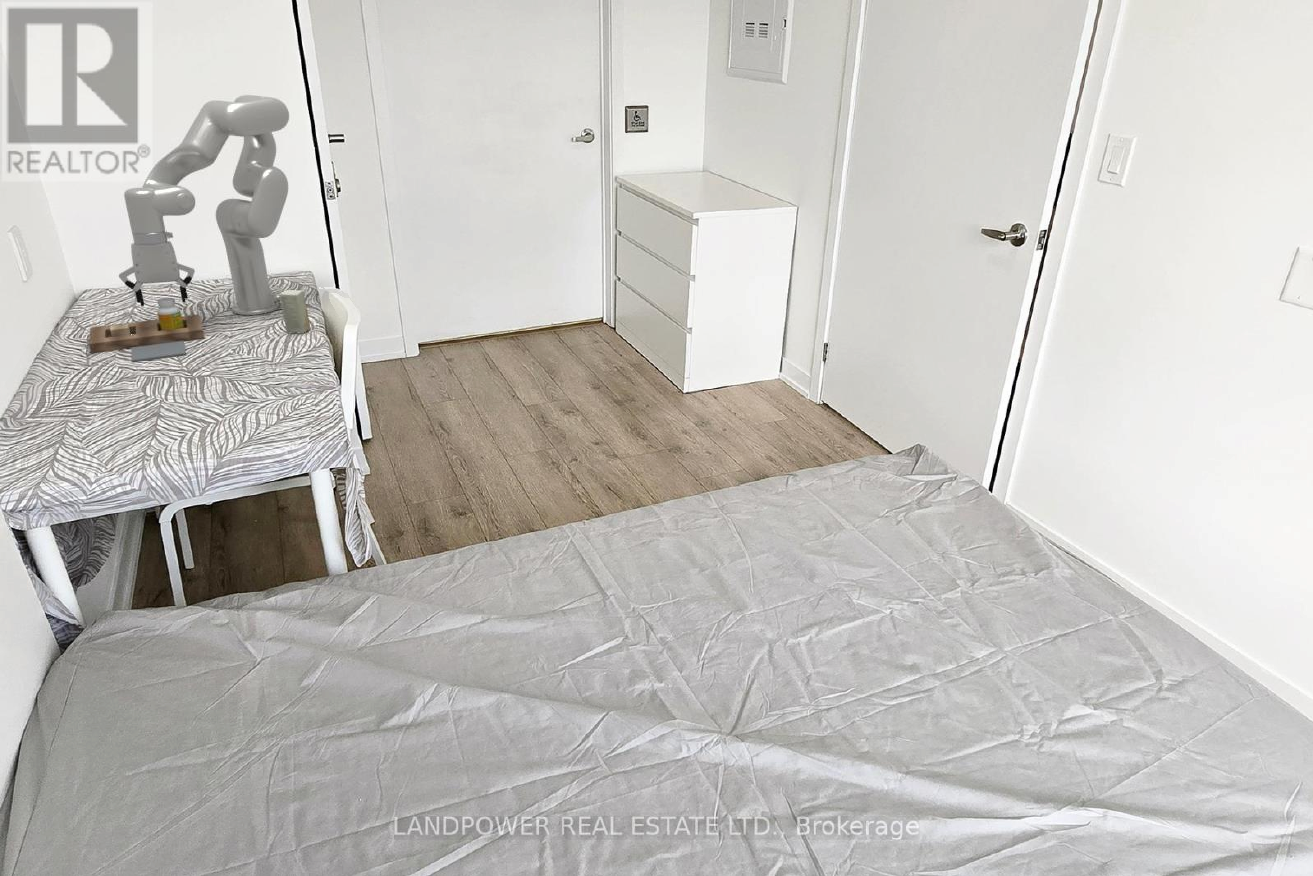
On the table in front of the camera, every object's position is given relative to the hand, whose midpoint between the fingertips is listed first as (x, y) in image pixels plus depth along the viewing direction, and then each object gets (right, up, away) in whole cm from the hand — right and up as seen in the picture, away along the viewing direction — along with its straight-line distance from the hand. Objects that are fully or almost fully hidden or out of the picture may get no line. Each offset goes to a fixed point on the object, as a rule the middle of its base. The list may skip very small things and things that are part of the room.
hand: (163, 303), depth 226 cm
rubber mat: (+3, -14, -7) cm, 16 cm away
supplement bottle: (0, -8, +5) cm, 9 cm away
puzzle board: (-5, -9, +2) cm, 10 cm away
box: (+32, -6, +10) cm, 34 cm away
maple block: (-10, -10, -1) cm, 14 cm away
